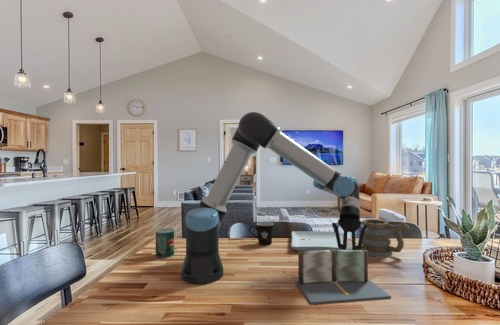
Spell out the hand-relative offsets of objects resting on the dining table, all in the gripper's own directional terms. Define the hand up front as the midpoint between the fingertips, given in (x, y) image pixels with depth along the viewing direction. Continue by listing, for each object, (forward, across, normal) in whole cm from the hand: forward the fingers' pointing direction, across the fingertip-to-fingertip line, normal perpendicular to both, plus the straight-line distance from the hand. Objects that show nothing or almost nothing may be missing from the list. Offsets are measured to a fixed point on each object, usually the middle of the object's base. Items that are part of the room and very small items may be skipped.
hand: (349, 267), depth 95 cm
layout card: (+9, -3, -3) cm, 10 cm away
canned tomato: (+4, -76, +1) cm, 77 cm away
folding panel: (+4, +1, +1) cm, 4 cm away
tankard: (-20, +14, +28) cm, 37 cm away
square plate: (-22, -15, +30) cm, 41 cm away
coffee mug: (-18, -42, +25) cm, 52 cm away
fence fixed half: (+7, -10, -2) cm, 13 cm away
